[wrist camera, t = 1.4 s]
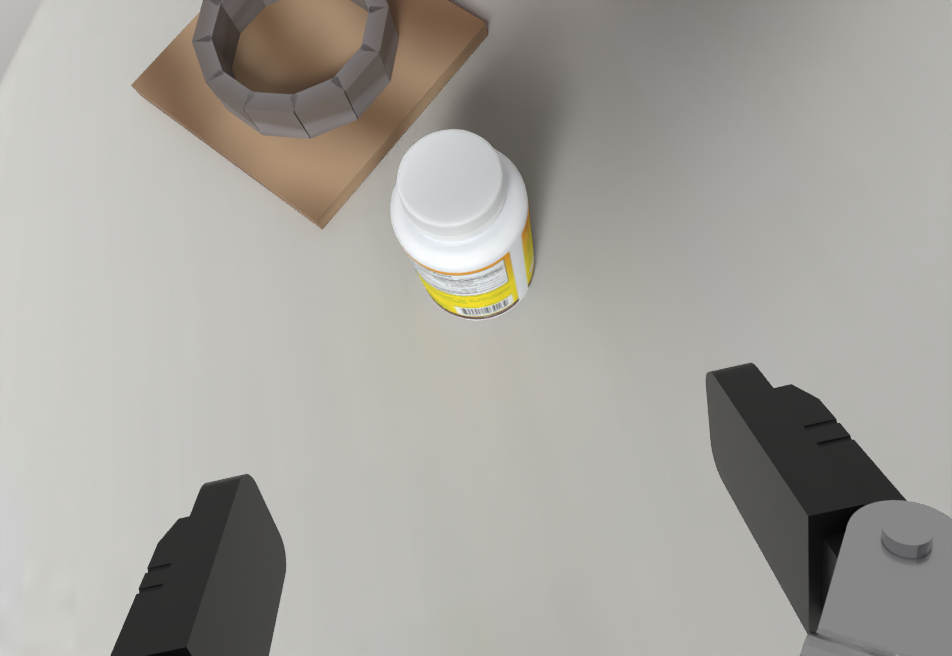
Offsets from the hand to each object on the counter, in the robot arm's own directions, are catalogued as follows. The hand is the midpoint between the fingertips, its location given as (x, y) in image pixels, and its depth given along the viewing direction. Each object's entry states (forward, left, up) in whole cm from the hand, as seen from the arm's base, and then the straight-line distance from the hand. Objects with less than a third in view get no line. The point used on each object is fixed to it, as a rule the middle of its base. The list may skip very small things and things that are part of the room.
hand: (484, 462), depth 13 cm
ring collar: (-12, -24, -22) cm, 34 cm away
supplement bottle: (-8, -9, -22) cm, 25 cm away
